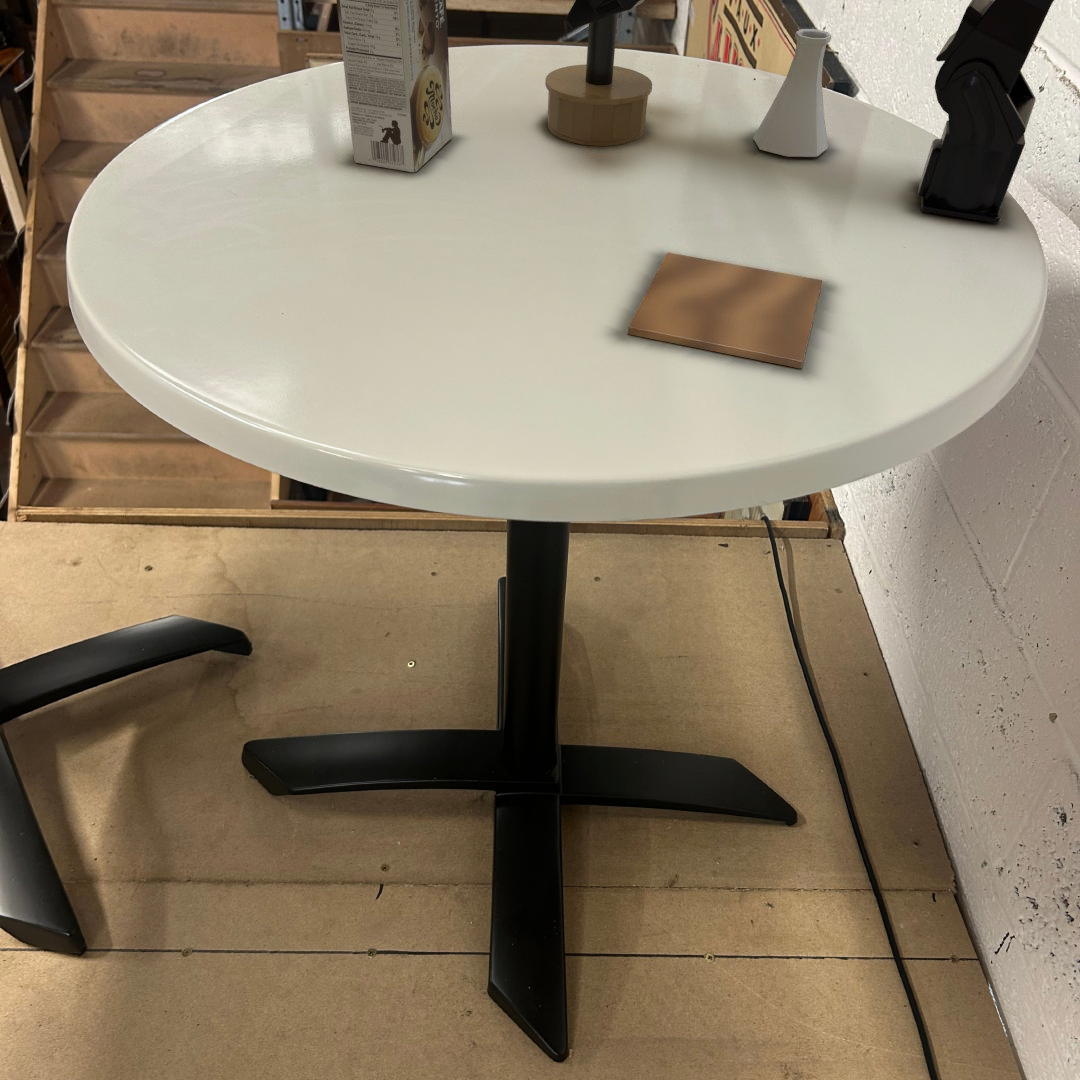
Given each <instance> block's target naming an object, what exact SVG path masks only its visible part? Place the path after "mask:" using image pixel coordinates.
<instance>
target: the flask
mask: <svg viewBox="0 0 1080 1080" xmlns="http://www.w3.org/2000/svg"><path fill="white" fill-rule="evenodd" d="M794 39H795V40H796V45H795V48H794V49H795V50H794V54H793V58H792V61H791V64H790V66H789V68H788V71H787V74H786V77H785V79H784V81H783V82H782V83H781V86H780V88H779V90H778V92H777V94H776V96H775V98H774V100H773V102H772V104H771V105H770V107H769V109H768V110H767V112H766V114H765V116H764V118H763V120H762V121H761V123H760V124H759V127H758V129H757V130H756V132H755V134H754V135H753V141H754V142H755V144H756V145H757V147H758V149H759V150H761V151H764V152H768V153H772V154H775V155H776V154H777V155H780V156H783V157H790V158H791V157H794V158H795V157H797V158H799V157H800V158H801V157H803V158H818V157H819V156H820V155H821V154H822V153H824V152H825V151H826V150H827V149H828V148H829V147H828V145H829V144H828V135H827V134H828V133H827V126H826V125H827V124H826V118H825V106H824V95H823V94H824V93H823V92H824V91H823V68H824V67H823V65H824V57H825V52H826V48H827V46H828V45H827V44H829V43H830V42H831V39H832V35H831V34H830V32H829V31H826V30H821V29H816V28H800V29H798V30H797V31H795V34H794Z"/></svg>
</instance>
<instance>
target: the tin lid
mask: <svg viewBox="0 0 1080 1080" xmlns="http://www.w3.org/2000/svg"><path fill="white" fill-rule="evenodd" d="M618 14H619V13H618ZM618 14H615V15H612V16H609V17H606V18H603V19H600V20H597V21H594V22H591V23H588V32H587V48H586V49H587V50H586V64H573V65H567V66H563V67H559V68H556V69H554V70H552V71H550V72H549V73H548V74H547V75H546V77H545V81H544V82H545V83H544V85H545V88H546V90H547V91H548V92H551V93H552V94H554V95H556V96H558V97H560V98H563V99H566V100H569V101H574V102H578V103H585V104H594V105H618V104H626V103H632V102H636V101H639V100H642V99H644V98H646V97H647V96H648V97H649V96H650V95H651V94H652V91H653V82H652V79H650V78H649V77H648V76H647V75H645V74H643V73H641V72H639V71H636V70H634V69H632V68H631V69H630V68H627V67H622V66H616V65H614V64H615V53H616V39H617V29H618V28H617V27H618Z"/></svg>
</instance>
